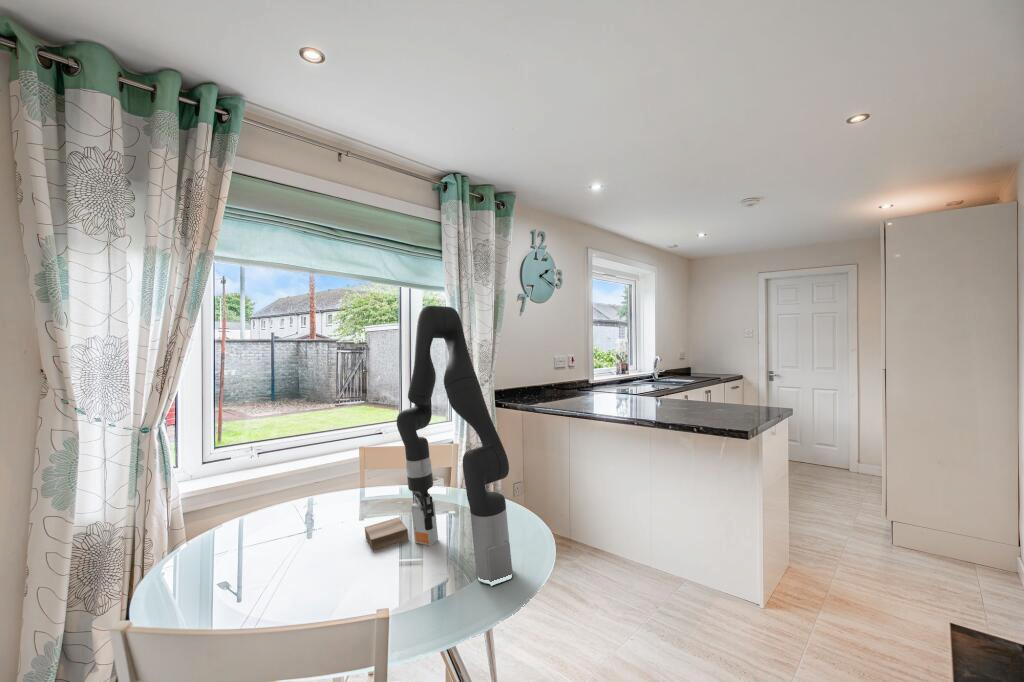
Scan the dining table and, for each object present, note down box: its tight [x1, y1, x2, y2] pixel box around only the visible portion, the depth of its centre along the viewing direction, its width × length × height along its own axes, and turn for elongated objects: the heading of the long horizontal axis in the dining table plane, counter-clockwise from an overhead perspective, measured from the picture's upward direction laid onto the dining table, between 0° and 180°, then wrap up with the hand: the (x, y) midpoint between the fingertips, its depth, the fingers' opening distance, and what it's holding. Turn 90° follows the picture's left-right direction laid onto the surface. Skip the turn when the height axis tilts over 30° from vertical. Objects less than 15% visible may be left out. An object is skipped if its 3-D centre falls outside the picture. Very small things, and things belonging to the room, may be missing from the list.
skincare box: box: [410, 501, 439, 546], centre depth 140 cm, size 6×4×12 cm
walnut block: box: [364, 517, 409, 552], centre depth 144 cm, size 11×11×4 cm
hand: (425, 524), depth 140 cm, fingers open, 8 cm apart
